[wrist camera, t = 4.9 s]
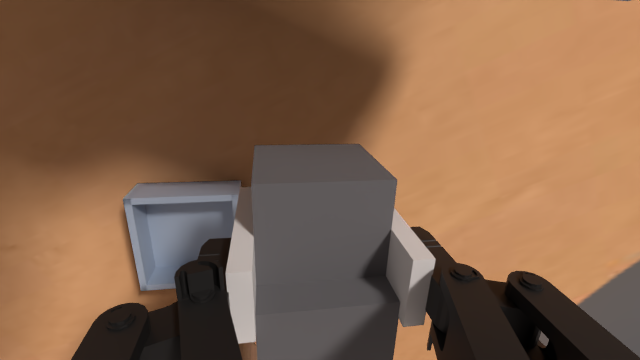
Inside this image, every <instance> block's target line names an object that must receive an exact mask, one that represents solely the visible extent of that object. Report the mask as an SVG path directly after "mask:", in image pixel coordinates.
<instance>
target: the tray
mask: <svg viewBox="0 0 640 360" xmlns="http://www.w3.org/2000/svg"><path fill="white" fill-rule="evenodd" d="M240 187H241V180H236V181H202V182H168V183H137V184H136V185H135V186H134V187H133V189H132V190H131V191H130V192H129V193H128V194H127V195H126V196H125V197H124V198H123V202H124V207H125V212H126V217H127V222H128V228H129V233H130V238H131V243H132V248H133V253H134V258H135V263H136V268H137V273H138V279H139V284H140V289H141V291H147V290H160V289H173V288H176V286H175V280H174V276H175V273H176V271H177V270H178V269H179V268H180V267H181V266H183V265H184V264H186V263H188V262H191V261H194V260H197V259H198V256H199V253H200V249H201V246H202V245H203V244H204V243H205V242H206V241H207V240H209V239H215V238H232V232H233V226H234V220H235V214H236V208H237V202H238V196H239V190H240Z"/></svg>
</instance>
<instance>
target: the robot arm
mask: <svg viewBox="0 0 640 360" xmlns="http://www.w3.org/2000/svg"><path fill="white" fill-rule="evenodd" d="M618 1H630V0H618ZM386 277H387V279H388V280H389V282H390V284H391V286H392V288H393V290H394V291H395V293H396V295H397V297H398V299H399V301H400V308H399V315H398V318H399V320H400V322H401V324H402V326H403V327H407V326H416V325H424V320H425V315H426V312H427V313H428V315H429V316H430V318H431V320H432V322H431V328H430V333H429V338H428V343H427V350H431V345H432V343H433V345H434V349H435V352H436V356H437V360H640V358H639V357H638V356H637V355H636V354H635V353H633V352H632V351H631V350H630V349H629V348H628V347H626V346H625V345H624V344H623V343H622V342H620V341H619V340H618V339H617V338H615V337H614V336H613V335H612V334H611V333H610V332H608V331H607V330H606V329H605V328H604V327H602V326H601V325H600V324H599V323H598V322H596V321H595V320H594V319H593V318H592V317H590V316H589V315H588V314H587V313H586V312H584V311H583V310H582V309H581V308H580V307H578V306H577V305H576V304H575V303H574V302H572V301H571V300H570V299H569V298H568V297H566V296H565V295H564V294H563V293H562V292H560V291H559V290H558V289H557V288H556V287H554V286H553V285H552V284H551V283H550V282H548V281H547V280H545V279H544V278H542V277H540V276H538V275H536V274H534V273H529V272H525V271H515V272H511V273H510V274H509V275H508V278H507V282H506V283H505V282H498V281H491V280H485V279H484V277H483V276H482V275H481V274H480V272H479V271H477V270H476V269H474V268H473V267H470V266H468V265H465V264H460V263H456V262H455V261H454V259H453V258H452V257H451V256H450V255H449V254H448V253H447V252H446V251H445V249H444V248H443V247H441V245H440V244H439V243H438V242H437V241H436V239H435V238H434V237H433V236H432V235H431V234H430V233H429V232H428V231H426V230H424V229H422V228H421V227H409V226H408V224H407V223H406V222H405V221H404V219H403V218H402V217H401V216H400V215H399V213H398V212H397V211H396V210H395V208H394V212H393V221H392V229H391V236H390V244H389V253H388V262H387V270H386ZM174 280H175V286H176V293H177V299H178V301H177V302H175V303H173V304H172V305H170V306H167V307H164V308H161V309H158V310H155V311H151V312H148V310H147V309H146V307H145V306H143V305H141V304H139V303H126V304H121V305H118V306H115V307H113V308H110V309H108V310H107V311H105V312H104V313H102V314H101V315H100V316H99V317H98V318H97V319H96V320H95V321H94V322H93V324H92V326H91V327H90V329H89V331H88V332H87V334H86V336H85V337H84V339H83V341H82V342H81V344H80V346H79V347H78V349H77V351H76V352H75V354H74V356H73V357H72V359H71V360H242V356H241V352H240V348H239V343H249V342H256V321H255V306H256V272H255V251H254V234H253V213H252V191H251V187H240V190H239V196H238V202H237V208H236V214H235V220H234V226H233V232H232V238H215V239H209V240H207V241H206V242H205V243H204V244H203V245H202V246H201V249H200V253H199V256H198V259H197V260H194V261H191V262H188V263H186V264H184V265H183V266H181V267H180V268H179V269H178V270H177V271H176V273H175V276H174ZM541 331H542V332H543V333H544V334H545V335H546V336H547V338H548V339H549V342H548V345H547V346H544V345H543V344H542V343H541V342H540V341H539V337H540V334H541Z"/></svg>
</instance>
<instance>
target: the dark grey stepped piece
mask: <svg viewBox="0 0 640 360" xmlns="http://www.w3.org/2000/svg"><path fill="white" fill-rule="evenodd" d="M396 186H397V179H396V178H395V177H394V176H393V175H392V174H391V173H390V172H388V171H387V170H386V169H385V168H384V167H383V166H382V165H381V164H380V163H379V162H378V161H377V160H376V159H375V158H374V157H373V156H371V155H370V154H369V153H368V152H367V151H366V150H365V149H364V148H363V147H362V146H361V145H360V144H314V145H255V146H254V158H253V169H252V180H251V191H252V213H253V234H254V251H255V272H256V306H255V321H256V342H257V360H393V355H394V348H395V340H396V333H397V326H398V319H399V318H398V315H399V308H400V301H399V299H398V297H397V295H396V293H395V291H394V290H393V288H392V286H391V284H390V282H389V280H388V279H387V277H386V270H387V262H388V253H389V244H390V236H391V229H392V221H393V212H394V204H395V195H396Z"/></svg>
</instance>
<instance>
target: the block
mask: <svg viewBox="0 0 640 360" xmlns="http://www.w3.org/2000/svg"><path fill="white" fill-rule="evenodd" d="M239 348H240V352H241V356H242V360H257V346H256V345H255V343H254V342H249V343H239Z"/></svg>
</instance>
